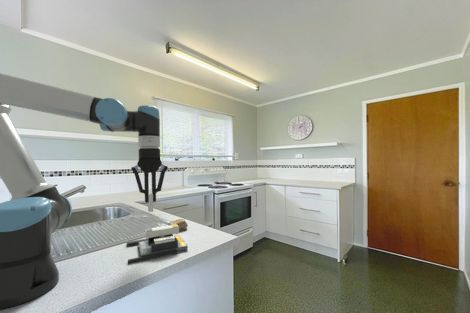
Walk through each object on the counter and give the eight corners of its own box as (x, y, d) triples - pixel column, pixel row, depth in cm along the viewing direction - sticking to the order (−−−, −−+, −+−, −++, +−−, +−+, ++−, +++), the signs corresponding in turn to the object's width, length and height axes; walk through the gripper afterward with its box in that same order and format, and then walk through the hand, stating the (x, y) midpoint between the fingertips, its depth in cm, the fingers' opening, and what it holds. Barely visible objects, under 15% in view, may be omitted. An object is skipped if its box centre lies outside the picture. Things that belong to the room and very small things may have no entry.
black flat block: (141, 259, 73) (141, 244, 73) (138, 246, 84) (138, 232, 84) (187, 250, 80) (187, 236, 80) (179, 238, 92) (179, 226, 92)
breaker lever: (145, 238, 78) (145, 231, 78) (145, 235, 81) (145, 228, 81) (179, 232, 84) (179, 226, 84) (177, 230, 87) (177, 223, 87)
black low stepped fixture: (127, 263, 70) (127, 260, 70) (126, 244, 86) (126, 241, 86) (182, 252, 78) (182, 249, 78) (172, 236, 94) (172, 234, 94)
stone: (170, 233, 99) (170, 223, 99) (167, 226, 108) (167, 217, 108) (188, 230, 102) (188, 221, 102) (184, 224, 112) (184, 216, 112)
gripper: (130, 147, 74) (131, 215, 74) (169, 147, 80) (170, 210, 80) (129, 148, 81) (130, 211, 81) (165, 148, 87) (166, 206, 87)
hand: (150, 210), depth 80 cm, fingers closed
